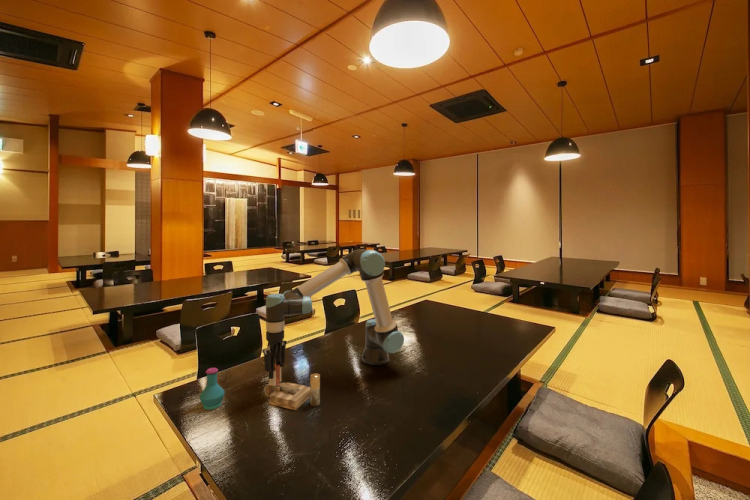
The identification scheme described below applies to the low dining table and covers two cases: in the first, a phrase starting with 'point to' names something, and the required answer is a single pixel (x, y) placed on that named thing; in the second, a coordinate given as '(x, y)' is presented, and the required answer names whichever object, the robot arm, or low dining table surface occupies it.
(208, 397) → the perfume bottle
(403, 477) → the low dining table surface
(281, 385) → the pin
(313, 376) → the tan rounded cylinder
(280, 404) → the dock
